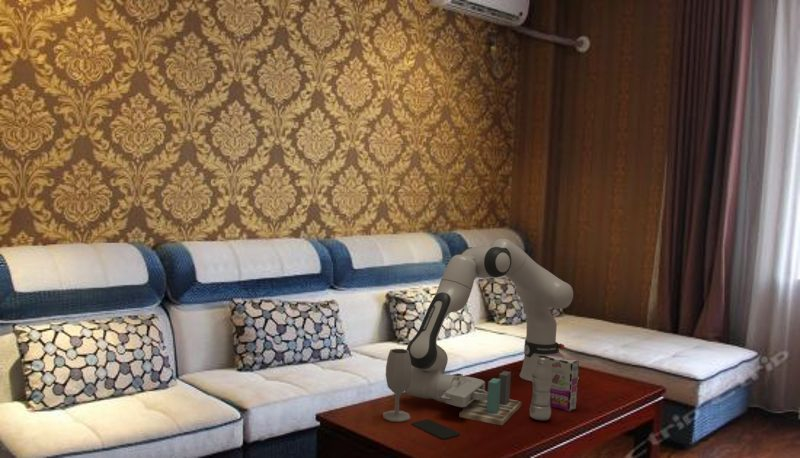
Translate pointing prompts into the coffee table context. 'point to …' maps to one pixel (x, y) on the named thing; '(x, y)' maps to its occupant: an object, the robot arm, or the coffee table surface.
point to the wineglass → (398, 381)
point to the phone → (436, 429)
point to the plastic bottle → (541, 389)
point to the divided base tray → (479, 413)
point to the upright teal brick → (493, 395)
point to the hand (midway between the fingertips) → (489, 396)
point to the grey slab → (505, 387)
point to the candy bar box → (563, 382)
